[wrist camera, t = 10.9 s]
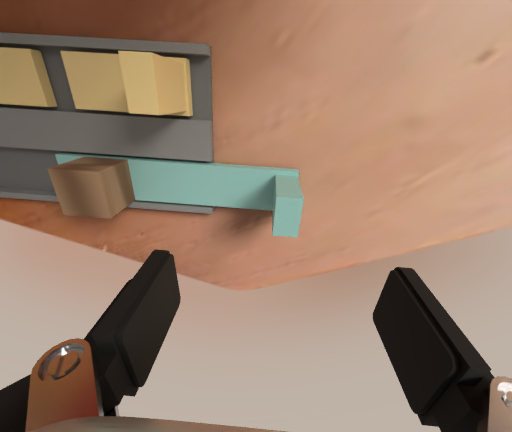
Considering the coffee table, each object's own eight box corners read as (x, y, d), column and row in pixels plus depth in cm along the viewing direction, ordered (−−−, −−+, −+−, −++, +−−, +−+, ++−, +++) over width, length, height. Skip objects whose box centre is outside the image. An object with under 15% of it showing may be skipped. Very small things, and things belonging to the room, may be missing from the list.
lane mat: (210, 47, 23) (206, 43, 21) (214, 208, 31) (211, 214, 29) (-85, 30, 24) (-109, 25, 22) (-6, 191, 31) (-20, 196, 30)
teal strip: (298, 168, 27) (307, 193, 20) (292, 208, 29) (299, 242, 22) (63, 152, 28) (-5, 170, 21) (75, 191, 30) (17, 219, 23)
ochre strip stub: (189, 59, 23) (153, 43, 16) (192, 115, 25) (163, 122, 18) (69, 52, 23) (-16, 34, 16) (84, 108, 25) (14, 112, 19)
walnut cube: (127, 159, 26) (98, 172, 22) (135, 199, 29) (110, 218, 24) (84, 156, 27) (47, 168, 22) (95, 196, 29) (63, 215, 24)
